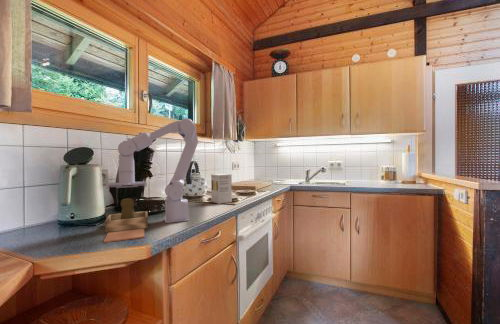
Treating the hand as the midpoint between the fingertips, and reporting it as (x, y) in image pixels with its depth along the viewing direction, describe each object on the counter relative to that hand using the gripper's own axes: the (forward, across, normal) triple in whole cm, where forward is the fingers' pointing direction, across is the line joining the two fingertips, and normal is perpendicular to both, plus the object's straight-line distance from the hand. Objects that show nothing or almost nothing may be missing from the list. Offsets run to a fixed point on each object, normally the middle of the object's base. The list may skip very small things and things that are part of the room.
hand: (127, 205), depth 100 cm
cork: (+8, 0, 0) cm, 8 cm away
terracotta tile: (+8, 0, -14) cm, 16 cm away
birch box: (+8, 0, 0) cm, 8 cm away
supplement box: (+8, +49, +35) cm, 61 cm away
